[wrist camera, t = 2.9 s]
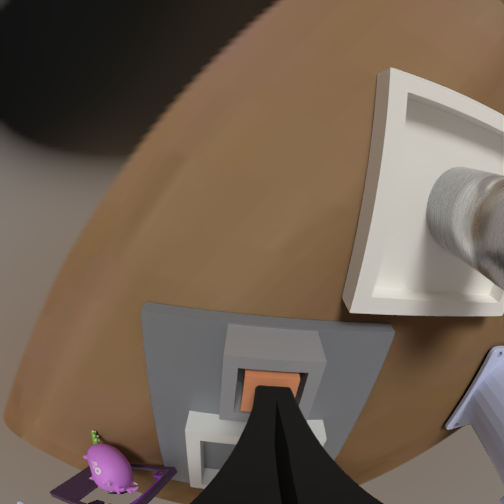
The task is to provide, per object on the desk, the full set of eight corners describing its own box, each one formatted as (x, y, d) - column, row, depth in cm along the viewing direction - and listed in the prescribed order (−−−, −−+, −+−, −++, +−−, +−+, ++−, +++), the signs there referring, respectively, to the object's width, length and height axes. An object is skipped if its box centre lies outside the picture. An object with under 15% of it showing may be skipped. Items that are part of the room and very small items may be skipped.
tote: (526, 138, 10) (543, 140, 9) (489, 304, 14) (502, 316, 12) (377, 74, 10) (390, 67, 9) (341, 297, 14) (349, 312, 12)
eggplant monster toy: (56, 502, 13) (133, 531, 11) (23, 448, 14) (91, 467, 11) (103, 469, 20) (182, 478, 17) (79, 420, 20) (153, 421, 18)
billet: (493, 177, 11) (584, 205, 5) (477, 254, 12) (555, 308, 7) (434, 157, 11) (535, 177, 5) (417, 245, 12) (500, 309, 7)
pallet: (389, 323, 14) (413, 359, 11) (315, 481, 20) (318, 510, 17) (146, 301, 14) (123, 337, 11) (168, 471, 19) (162, 500, 16)
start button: (295, 352, 13) (300, 379, 11) (287, 387, 14) (290, 413, 12) (246, 349, 13) (245, 375, 11) (242, 383, 14) (240, 411, 12)
